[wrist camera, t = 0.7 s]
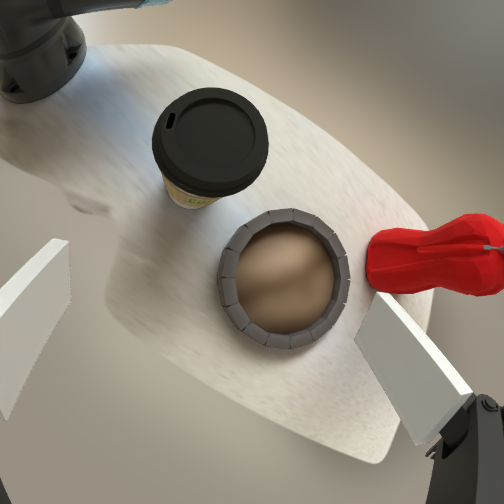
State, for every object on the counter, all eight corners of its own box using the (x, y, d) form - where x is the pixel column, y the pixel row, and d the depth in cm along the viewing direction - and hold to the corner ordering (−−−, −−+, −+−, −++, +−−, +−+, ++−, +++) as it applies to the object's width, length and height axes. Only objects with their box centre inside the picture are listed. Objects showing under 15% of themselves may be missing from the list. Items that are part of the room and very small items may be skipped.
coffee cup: (223, 231, 37) (266, 205, 23) (143, 215, 34) (136, 175, 20) (237, 158, 39) (282, 100, 24) (163, 140, 36) (172, 69, 21)
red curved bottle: (357, 224, 43) (507, 187, 20) (406, 239, 47) (540, 219, 23) (350, 287, 42) (509, 291, 19) (402, 295, 46) (540, 299, 22)
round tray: (191, 256, 36) (194, 255, 34) (300, 191, 41) (309, 186, 39) (264, 369, 38) (271, 374, 35) (357, 295, 43) (367, 296, 40)
